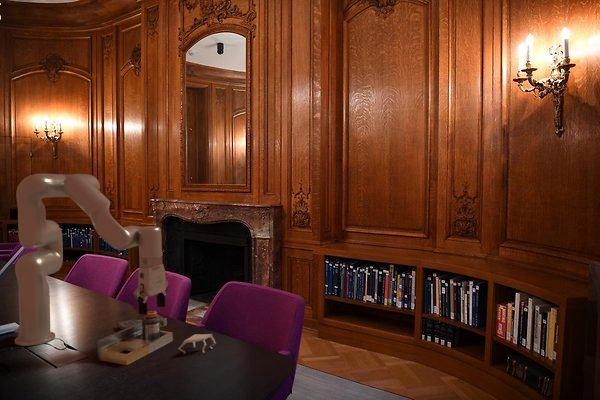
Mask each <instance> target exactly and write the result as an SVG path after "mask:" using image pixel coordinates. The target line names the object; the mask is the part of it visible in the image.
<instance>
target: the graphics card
mask: <svg viewBox="0 0 600 400" xmlns="http://www.w3.org/2000/svg"><path fill="white" fill-rule="evenodd" d="M157 317H158V318H159V319H160V328H161V327H165V326H167V325H168V323H167V322H168V321H167V318H166V317H163V316H162V315H159V314H158V313H157ZM144 318H145V316H144V317H139V318H133V319H128V320H123V321H119V322H117V323H116V326H117V327H119V329H121V330H124V329H126V328H129V327H131V326H134V325H136V324H138V323H141V322H142V320H143V319H144Z"/></svg>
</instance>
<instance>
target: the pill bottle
mask: <svg viewBox="0 0 600 400" xmlns="http://www.w3.org/2000/svg"><path fill="white" fill-rule="evenodd" d="M157 314H158V312H157V310H148V313H147V314H146V315H144V317H145V318H144V319H143V320H142V340H148V341H154V340H156V339H158V338H160V331H161V327H160V319H161V318H160V317H159V316H157Z"/></svg>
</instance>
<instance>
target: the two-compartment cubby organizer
mask: <svg viewBox="0 0 600 400" xmlns="http://www.w3.org/2000/svg"><path fill="white" fill-rule="evenodd" d="M173 341H174V333H173V332H171V331H164V330H160V338H158V339H156V340H154V341H148V340H142V322H141V323H138V324H136V325H134V326H131V327H129V328H126V329H124V330H123V329H121V330H119V331H118V332H116V333H113V334H110V335H108V336H105V337H103V338H101V339H98V340H97V360H99V361H101V362H106V363H107V362H108V363H113V364H119V365H124V366H128V365H130V364H132V363H133V362H135V361H137V360H139V359H141V358H143V357H145V356H147V355H148V354H150V353H153V352H154V351H156V350H158V349H160V348H162V347H164V346H165V345H167V344H170V343H171V342H173ZM124 351H128V352H129V353H123V352H124Z"/></svg>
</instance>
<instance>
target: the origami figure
mask: <svg viewBox="0 0 600 400" xmlns="http://www.w3.org/2000/svg"><path fill="white" fill-rule="evenodd" d="M208 338H210V340H212V343H213V344H210V345H209V348H210V349H213V347H212V346H214V345H215V344H217V342H216V341H215V338H214V337H213V333H206V334H205V333H203V334H200V333H199V334H195V333H194V334H193V335H191V336H190V337H188V338H187V339H185V340H183V341H182V344H180V346H179V347H178V350H179V351H181V352H183V353H182V355H186V353H187V352H186V351H185V350H184V349H182V348H183V347H184V346H185V345H186V344H187V343H192V345H193V349H195V348H196V342H201V341H202V342H203V347H202V350H201V351H202V353H205V348H206V347H207V342H206V340H207V339H208Z"/></svg>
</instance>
